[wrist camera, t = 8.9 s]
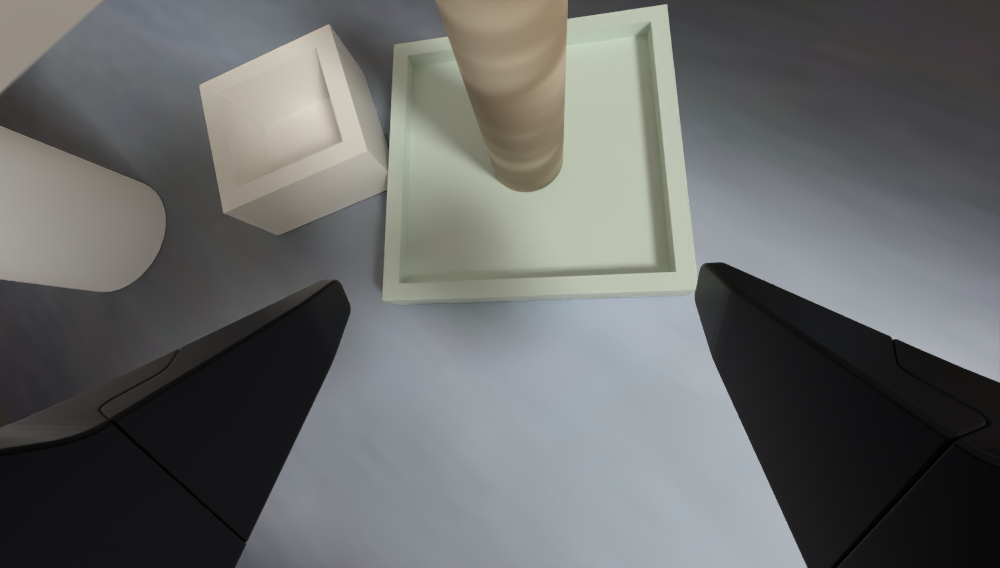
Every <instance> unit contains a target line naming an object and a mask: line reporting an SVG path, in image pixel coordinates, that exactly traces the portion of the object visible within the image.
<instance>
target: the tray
mask: <svg viewBox="0 0 1000 568" xmlns="http://www.w3.org/2000/svg"><path fill="white" fill-rule="evenodd" d="M697 281H698V280H697V271H696V262H695V253H694V244H693V235H692V226H691V217H690V208H689V199H688V190H687V181H686V172H685V163H684V153H683V144H682V135H681V126H680V117H679V108H678V99H677V90H676V81H675V72H674V63H673V54H672V45H671V36H670V27H669V18H668V9H667V4H666V5H659V6H653V7H646V8H639V9H632V10H625V11H619V12H612V13H605V14H598V15H592V16H585V17H578V18H571V19H567V45H566V78H565V110H564V143H563V163H562V167H561V170H560V172H559V174H558V175H557V177H556V178H555V179H554V181H552V182H551V183H550V184H549V185H548V186H546V187H544V188H542V189H540V190H537V191H534V192H518V191H514V190H512V189H509V188H508V187H506V186H505V185H503V184H502V183H501V182H500V180H499V179H498V178H497V176H496V174H495V171H494V168H493V166H492V163H491V160H490V157H489V154H488V151H487V148H486V145H485V143H484V140H483V137H482V134H481V131H480V128H479V125H478V122H477V119H476V117H475V114H474V111H473V108H472V105H471V102H470V99H469V96H468V93H467V91H466V88H465V85H464V82H463V79H462V76H461V73H460V70H459V67H458V65H457V62H456V59H455V56H454V53H453V50H452V47H451V44H450V42H449V39H448V37H443V38H436V39H429V40H422V41H416V42H409V43H402V44H395V45H394V56H393V78H392V99H391V121H390V143H389V164H388V186H387V207H386V229H385V251H384V272H383V294H382V301H385V302H388V303H392V304H395V305H409V304H439V303H470V302H500V301H530V300H560V299H590V298H621V297H651V296H681V295H688V294H690V293H692V292H695V291H696V286H697Z"/></svg>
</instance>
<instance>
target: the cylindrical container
mask: <svg viewBox="0 0 1000 568" xmlns="http://www.w3.org/2000/svg"><path fill="white" fill-rule="evenodd" d="M165 229H166V214H165V209H164V206H163V203H162V201H161V199H160V197H159V196H158V194H157V193H156V192H155V191H154V190H153V189H152V188H151V187H150V186H148V185H145V184H143V183H141V182H139V181H136V180H134V179H131V178H129V177H126V176H124V175H121V174H119V173H116V172H114V171H111V170H109V169H106V168H104V167H101V166H99V165H96V164H94V163H91V162H89V161H87V160H84V159H82V158H79V157H77V156H74V155H72V154H69V153H67V152H64V151H62V150H59V149H57V148H54V147H52V146H49V145H47V144H44V143H42V142H39V141H37V140H34V139H32V138H29V137H27V136H24V135H22V134H19V133H17V132H14V131H12V130H9V129H7V128H5V127H2V126H0V279H1V280H9V281H17V282H25V283H33V284H41V285H48V286H56V287H64V288H72V289H80V290H87V291H95V292H111V291H115V290H119V289H122V288H124V287H126V286H128V285H130V284H131V283H133V282H134V281H136V280H137V279H138V278H139V277H140V276H141V275H142V274H143V273H145V272H146V270H147V269H148V268H149V267H150V265H151V264H152V263H153V261H154V260H155V258H156V256H157V254H158V252H159V251H160V248H161V245H162V242H163V240H164V235H165Z"/></svg>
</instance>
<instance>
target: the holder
mask: <svg viewBox="0 0 1000 568" xmlns="http://www.w3.org/2000/svg"><path fill="white" fill-rule="evenodd" d="M199 88H200V93H201V99H202V104H203V109H204V114H205V119H206V125H207V130H208V135H209V140H210V146H211V151H212V156H213V161H214V167H215V172H216V177H217V182H218V188H219V193H220V198H221V203H222V208H223V213H224V214H227V215H229V216H231V217H234V218H236V219H239V220H241V221H244V222H246V223H249V224H251V225H253V226H256V227H258V228H261V229H263V230H266V231H268V232H271V233H273V234H275V235H278V236H279V235H281V234H283V233H286V232H288V231H291V230H293V229H295V228H298V227H300V226H302V225H305V224H307V223H310V222H312V221H314V220H317V219H319V218H321V217H324V216H326V215H329V214H331V213H333V212H336V211H338V210H341V209H343V208H345V207H348V206H350V205H352V204H355V203H357V202H360V201H362V200H364V199H367V198H369V197H371V196H374V195H376V194H379V193H381V192H383V191H386V190H387V186H388V164H389V149H388V145H387V142H386V139H385V136H384V133H383V130H382V127H381V123H380V120H379V117H378V114H377V111H376V108H375V105H374V101H373V98H372V95H371V92H370V89H369V86H368V83H367V79H366V76H365V74H364V73H363V71H362V70H361V68H360V67H359V66H358V64H357V63H356V61H355V60H354V58H353V57H352V56H351V54H350V53H349V51H348V50H347V49H346V47H345V46H344V44H343V43H342V41H341V40H340V39H339V37H338V36H337V34H336V33H335V32H334V30H333V29H332V27H331V26H330V24H328V25H326V26H324V27H322V28H320V29H317V30H315V31H313V32H311V33H309V34H307V35H305V36H303V37H300V38H298V39H296V40H294V41H292V42H290V43H288V44H286V45H283V46H281V47H279V48H277V49H275V50H273V51H271V52H269V53H266V54H264V55H262V56H260V57H258V58H256V59H254V60H252V61H249V62H247V63H245V64H243V65H241V66H239V67H237V68H235V69H232V70H230V71H228V72H226V73H224V74H222V75H220V76H218V77H215V78H213V79H211V80H209V81H207V82H205V83H203V84H200V85H199Z"/></svg>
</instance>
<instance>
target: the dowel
mask: <svg viewBox="0 0 1000 568" xmlns="http://www.w3.org/2000/svg"><path fill="white" fill-rule="evenodd" d="M435 1H436V4H437V7H438V10H439V13H440V16H441V18H442V21H443V24H444V27H445V30H446V33H447V36H448V39H449V42H450V44H451V47H452V50H453V53H454V56H455V59H456V62H457V65H458V67H459V70H460V73H461V76H462V79H463V82H464V85H465V88H466V91H467V93H468V96H469V99H470V102H471V105H472V108H473V111H474V114H475V117H476V119H477V122H478V125H479V128H480V131H481V134H482V137H483V140H484V143H485V145H486V148H487V151H488V154H489V157H490V160H491V163H492V166H493V168H494V171H495V174H496V176H497V178H498V179H499V180H500V182H501V183H502V184H503V185H505V186H506V187H508V188H509V189H512V190H514V191H518V192H534V191H537V190H540V189H542V188H544V187H546V186H548V185H549V184H550V183H551V182H552V181H554V179H555V178H556V177H557V175H558V174H559V172H560V170H561V167H562V163H563V143H564V110H565V78H566V45H567V13H568V0H435Z"/></svg>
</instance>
